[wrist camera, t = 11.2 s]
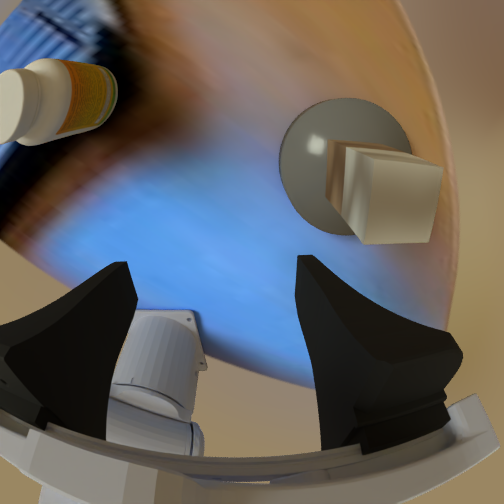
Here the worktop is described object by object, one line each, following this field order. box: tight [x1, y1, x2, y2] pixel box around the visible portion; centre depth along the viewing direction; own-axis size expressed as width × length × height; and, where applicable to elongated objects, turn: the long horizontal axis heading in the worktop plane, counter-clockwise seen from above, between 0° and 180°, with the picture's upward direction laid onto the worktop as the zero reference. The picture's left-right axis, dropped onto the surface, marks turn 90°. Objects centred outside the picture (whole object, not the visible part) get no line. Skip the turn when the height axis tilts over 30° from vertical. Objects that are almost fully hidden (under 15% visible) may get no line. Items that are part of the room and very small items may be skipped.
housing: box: [325, 139, 443, 245], centre depth 14 cm, size 4×4×7 cm
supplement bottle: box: [0, 58, 118, 146], centre depth 11 cm, size 5×5×10 cm
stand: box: [279, 98, 412, 235], centre depth 18 cm, size 10×10×2 cm
